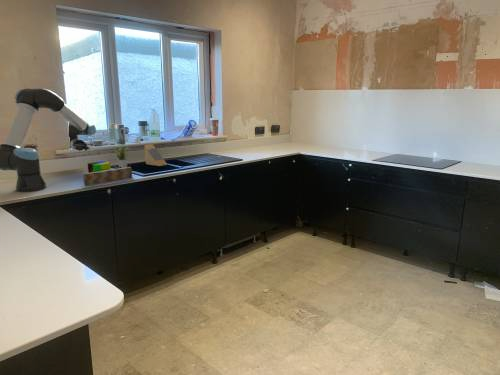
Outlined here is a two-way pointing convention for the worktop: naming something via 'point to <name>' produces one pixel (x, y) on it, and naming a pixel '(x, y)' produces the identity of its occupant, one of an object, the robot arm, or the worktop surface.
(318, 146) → the worktop surface
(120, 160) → the house plant
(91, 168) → the puzzle toy
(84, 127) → the robot arm
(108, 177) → the walnut board
